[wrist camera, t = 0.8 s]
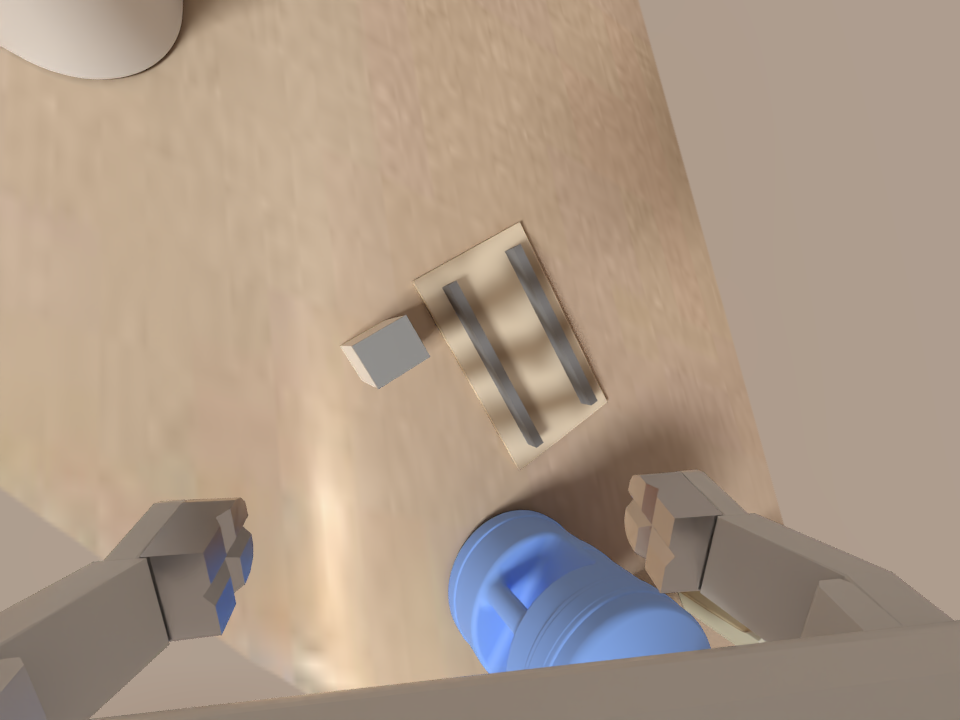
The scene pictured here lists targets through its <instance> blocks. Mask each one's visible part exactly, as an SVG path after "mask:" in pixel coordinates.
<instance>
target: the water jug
mask: <svg viewBox="0 0 960 720" xmlns="http://www.w3.org/2000/svg"><path fill="white" fill-rule="evenodd" d="M448 596H449V606H450V610H451V614H452V617H453V620H454V622H455V624H456V626H457V627H458V629H459V631H460V632H461V634H462V636H463V637H464V639H465V640H466V641H467V642H468V643H469V644H470V646H471V648H472V649H473V651H474V653H475V654H476V656H477V657H478V659H479V661H480V662H481V664H482V665H483V667H484V668H485V669H486V670H487V672H488V673H498V672H507V671H516V670H524V669H533V668H542V667H550V666H559V665H568V664H577V663H586V662H595V661H604V660H613V659H622V658H631V657H640V656H649V655H658V654H667V653H676V652H685V651H694V650H703V649H711V647H710V644H709V642H708V639H707V637H706V635H705V633H704V631H703V629H702V628H701V626H700V625H699V623H698V622H697V621H696V620H695V618H694V617H693V616H692V615H691V614H690V613H688V612H687V611H686V610H685V609H683V608H682V607H680V606H679V605H678V604H677V603H676V602H675V601H674V600H672V599H671V598H670V597H669V596H667V595H666V594H664V593H660V592H659V590H658V589H657V588H655V587H654V586H652V585H650V584H648V583H646V582H644V581H642V580H640V579H638V578H637V577H635V576H634V575H632V574H631V573H629V572H628V571H626V570H625V569H623V568H622V567H620V566H619V565H617V564H616V563H614V562H613V561H612V560H611V559H610V558H608V557H607V556H606V555H605V554H604V553H602V552H601V551H599V550H598V549H596V548H595V547H593V546H592V545H590V544H588V543H586V542H584V541H582V540H579V539H578V538H576V537H575V536H573V535H572V534H570V533H569V532H567V531H566V530H565V529H564V528H563V527H562V526H561V525H560V524H559V523H557V522H556V521H554V520H553V519H551V518H550V517H547V516H546V515H544V514H541V513H538V512H535V511H530V510H515V511H509V512H506V513H502V514H500V515H497V516H495V517H493V518H491V519H490V520H488V521H487V522H485V523H484V524H482V525H481V526H480V527H479V528H478V529H477V530H475V531H474V532H473V533H472V535H471V536H470V537H469V538H468V539H467V541H466V542H465V543H464V545H463V546H462V548H461V550H460V551H459V553H458V555H457V557H456V560H455V562H454V565H453V568H452V571H451V575H450V580H449V590H448Z"/></svg>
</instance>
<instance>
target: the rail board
mask: <svg viewBox="0 0 960 720" xmlns="http://www.w3.org/2000/svg"><path fill="white" fill-rule="evenodd" d="M412 282H413V284H414V286H415V287H416V289H417V291H418V293H419V294H420V296H421V298H422V300H423V302H424V303H425V305H426V307H427V309H428V310H429V312H430V314H431V316H432V318H433V319H434V321H435V323H436V325H437V326H438V328H439V330H440V332H441V333H442V335H443V337H444V339H445V341H446V342H447V344H448V346H449V348H450V349H451V351H452V353H453V355H454V357H455V358H456V360H457V362H458V364H459V365H460V367H461V369H462V371H463V373H464V374H465V376H466V378H467V380H468V381H469V383H470V385H471V387H472V388H473V390H474V392H475V394H476V396H477V397H478V399H479V401H480V403H481V404H482V406H483V408H484V410H485V412H486V413H487V415H488V417H489V419H490V420H491V422H492V424H493V426H494V427H495V429H496V431H497V433H498V435H499V436H500V438H501V440H502V442H503V443H504V445H505V447H506V449H507V451H508V452H509V454H510V456H511V458H512V459H513V461H514V463H515V465H516V467H517V468H518V469H519V470H521V469H523V468H524V467H525V466H527V465H528V464H529V463H530V462H532V461H533V460H534V459H536V458H537V457H538V456H539V455H541V454H542V453H543V452H544V451H546V450H547V449H548V448H550V447H551V446H552V445H553V444H555V443H556V442H557V441H558V440H560V439H561V438H562V437H564V436H565V435H566V434H567V433H569V432H570V431H571V430H572V429H574V428H575V427H576V426H578V425H579V424H580V423H581V422H583V421H584V420H585V419H586V418H588V417H589V416H590V415H592V414H593V413H594V412H595V411H597V410H598V409H599V408H601V407H602V406H603V405H604V404H606V403H607V400H606V398H605V396H604V394H603V392H602V390H601V388H600V386H599V384H598V382H597V380H596V378H595V376H594V374H593V372H592V370H591V368H590V365H589V363H588V361H587V359H586V357H585V355H584V353H583V351H582V349H581V347H580V345H579V343H578V341H577V339H576V337H575V335H574V333H573V331H572V328H571V326H570V324H569V322H568V320H567V318H566V316H565V314H564V312H563V310H562V308H561V306H560V304H559V302H558V300H557V298H556V296H555V294H554V291H553V289H552V287H551V285H550V283H549V281H548V279H547V277H546V275H545V273H544V271H543V269H542V267H541V265H540V263H539V261H538V259H537V257H536V254H535V252H534V250H533V248H532V246H531V244H530V242H529V240H528V238H527V236H526V234H525V232H524V230H523V228H522V226H521V224H520V222H519V223H517V224H515V225H513V226H511V227H509V228H508V229H506V230H504V231H502V232H500V233H499V234H497V235H495V236H493V237H491V238H490V239H488V240H486V241H484V242H482V243H481V244H479V245H477V246H475V247H473V248H472V249H470V250H468V251H466V252H464V253H463V254H461V255H459V256H457V257H455V258H454V259H452V260H450V261H448V262H446V263H445V264H443V265H441V266H439V267H437V268H436V269H434V270H432V271H430V272H428V273H427V274H425V275H423V276H421V277H419V278H418V279H416V280H414V281H412Z"/></svg>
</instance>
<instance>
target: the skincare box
mask: <svg viewBox="0 0 960 720" xmlns="http://www.w3.org/2000/svg"><path fill="white" fill-rule="evenodd" d="M678 594H679V596H680V599H681V602H682V604H683V607H684V609H685V610H686V611H687V612H689V613H690V614H692V615H693V616H695V617H696V618H697V619H699V620H700V621H702V622H703V623H704V624H706V625H707V626H709V627H710V628H712V629H713V630H714V631H716V632H717V633H719V634H720V635H722V636H723V637H724V638H726V639H727V640H729V641H730V642H731V643H733V644H734V645H736V646H737V645H745V644H754V643H762V642H766V641H764V640H763V639H762V638H760V637H759V636H758V635H756V634H755V633H754V632H752V631H751V630H750V629H748V628H747V627H746V626H744V625H743V624H742V623H740V622H739V621H737V620H736V619H735V618H733V617H732V616H731V615H729V614H728V613H727V612H725V611H724V610H723V609H721V608H720V607H719V606H717V605H716V604H715V603H713V602H712V601H710V600H709V599H708V598H706V597H705V596H704V595H702V594H701V593H700V591H689V592H678Z"/></svg>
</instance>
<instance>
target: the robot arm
mask: <svg viewBox="0 0 960 720" xmlns="http://www.w3.org/2000/svg"><path fill="white" fill-rule="evenodd" d="M182 15H183V0H0V46H1V47H3V48H5V49H7V50H8V51H10V52H12V53H14V54H16V55H17V56H19V57H21V58H23V59H25V60H27V61H29V62H31V63H33V64H35V65H37V66H40V67H42V68H45V69H47V70H50V71H53V72H56V73H60V74H64V75H68V76H73V77H78V78H86V79H113V78H120V77H126V76H129V75H133V74H136V73H139V72H141V71H143V70H145V69H147V68H149V67H151V66H152V65H154V64H155V63H157V62H158V61H159V60H161V59H162V58H163V57H164V56H165V55H166V54H167V52H168V51H169V50H170V49H171V47H172V46H173V44H174V42H175V41H176V39H177V36H178V34H179V31H180V28H181V23H182ZM628 492H629V493H630V495H631V496H632V498H633V500H632V501H631V503H630V504H629V505H628V506H627V507H626V509H625V518H624V524H625V531H626V536H627V538H628V541H629V544H630V545H631V547H632V549H633V550H634V552H635V553H637V554H638V555H640V556H641V557H643V558H645V559H646V562H645V570H646V571H647V573H648V574H649V576H650V578H651V579H652V581H653V582H654V584H655V586H656V587H657V589H658V590H659V592H660V593H673V592H689V591H700V593H701V594H702V595H704V596H705V597H706V598H708V599H709V600H710V601H712V602H713V603H715V604H716V605H717V606H719V607H720V608H721V609H723V610H724V611H725V612H727V613H728V614H729V615H731V616H732V617H733V618H735V619H736V620H737V621H739V622H740V623H742V624H743V625H744V626H746V627H747V628H748V629H750V630H751V631H752V632H754V633H755V634H756V635H758V636H759V637H760V638H762V639H763V640H764V641H766V642H762V643H754V644H745V645H737V646H728V647H720V648H712V649H703V650H694V651H685V652H676V653H667V654H658V655H649V656H640V657H631V658H622V659H613V660H604V661H595V662H586V663H577V664H568V665H559V666H550V667H542V668H533V669H524V670H516V671H507V672H498V673H489V674H481V675H472V676H463V677H455V678H446V679H437V680H428V681H420V682H411V683H402V684H394V685H385V686H376V687H368V688H359V689H350V690H341V691H333V692H324V693H315V694H306V695H298V696H289V697H280V698H271V699H262V700H254V701H246V702H236V703H228V704H218V705H210V706H202V707H192V708H183V709H175V710H166V711H157V712H148V713H140V714H131V715H122V716H114V717H105V718H96V719H89V718H90V717H91V716H92V715H93V714H95V713H96V712H97V711H98V710H99V709H100V708H101V707H102V706H103V705H104V704H105V703H107V702H108V701H109V700H110V699H111V698H112V697H113V696H114V695H115V694H116V693H117V692H118V691H120V690H121V688H123V687H124V686H125V685H126V684H127V683H128V682H129V681H130V680H131V679H132V678H134V677H135V676H136V675H137V674H138V673H139V672H140V671H141V670H142V669H143V668H144V667H146V666H147V665H148V664H149V663H150V662H151V661H152V660H153V659H154V658H155V657H156V656H157V655H159V654H160V653H161V652H162V651H163V650H164V649H165V648H166V647H167V646H168V645H169V642H170V641H178V640H186V639H194V638H202V637H211V636H219V635H222V633H223V631H224V629H225V627H226V625H227V622H228V620H229V618H230V616H231V614H232V611H233V609H234V607H235V605H236V601H235V596H234V593H235V592H236V591H237V590H238V589H240V588H241V587H242V586H243V585H245V583H246V580H247V578H248V576H249V573H250V570H251V565H252V560H253V541H252V534H251V533H250V532H249V531H247V530H246V529H245V528H244V527H243V524H244V522H245V521H246V519H247V517H248V512H247V508H246V503H245V501H244V500H243V499H242V498H217V499H192V500H172V501H160V502H157V503H155V504H153V505H152V506H151V507H150V508H149V510H148V511H147V512H146V513H145V514H144V515H143V516H142V517H141V519H140V520H139V521H138V522H137V523H136V524H135V525H134V527H133V528H132V529H131V530H130V531H129V532H128V533H127V534H126V536H125V537H124V538H123V539H122V540H121V541H120V542H119V544H118V545H117V546H116V547H115V548H114V549H113V550H112V551H111V553H110V554H109V555H108V556H107V557H106V558H105V559H104V560H103V561H97V562H92V563H90V564H88V565H87V566H85V567H83V568H81V569H79V570H77V571H75V572H74V573H72V574H70V575H68V576H66V577H64V578H62V579H61V580H59V581H57V582H55V583H53V584H51V585H50V586H48V587H46V588H44V589H42V590H40V591H38V592H37V593H35V594H33V595H31V596H30V597H28V598H26V599H24V600H22V601H20V602H18V603H16V604H14V605H13V606H11V607H9V608H7V609H5V610H4V611H2V612H0V720H960V620H956V621H954V620H953V619H951V618H950V617H949V616H948V615H946V614H945V613H944V612H943V611H941V610H940V609H939V608H937V607H936V606H935V605H934V604H932V603H931V602H930V601H929V600H927V599H926V598H925V597H923V596H922V595H921V594H920V593H918V592H917V591H916V590H914V589H913V588H912V587H911V586H909V585H908V584H907V583H905V582H904V581H903V580H902V579H900V578H899V577H898V576H896V575H895V574H894V573H893V572H891V571H888V570H886V569H884V568H881V567H879V566H877V565H874V564H872V563H870V562H867V561H865V560H863V559H860V558H858V557H856V556H853V555H851V554H849V553H846V552H844V551H842V550H839V549H837V548H835V547H832V546H830V545H828V544H825V543H823V542H821V541H818V540H816V539H814V538H811V537H809V536H807V535H804V534H802V533H800V532H797V531H795V530H792V529H790V528H787V527H786V526H783V525H781V524H779V523H776V522H774V521H772V520H769V519H767V518H765V517H762V516H760V515H758V514H755V513H752V514H748V513H747V512H746V511H745V510H744V509H743V508H742V507H740V506H739V505H738V504H737V503H736V502H735V501H734V500H733V499H732V498H731V497H730V496H729V495H728V494H727V493H725V492H724V491H723V490H722V489H721V488H720V487H719V486H718V485H717V484H716V483H715V482H714V481H713V480H712V479H710V478H709V477H708V476H707V475H706V474H705V473H704V472H702V471H700V470H697V469H696V470H685V471H676V472H668V473H654V474H641V475H633V476H632V478H631V480H630V483H629V489H628Z"/></svg>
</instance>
